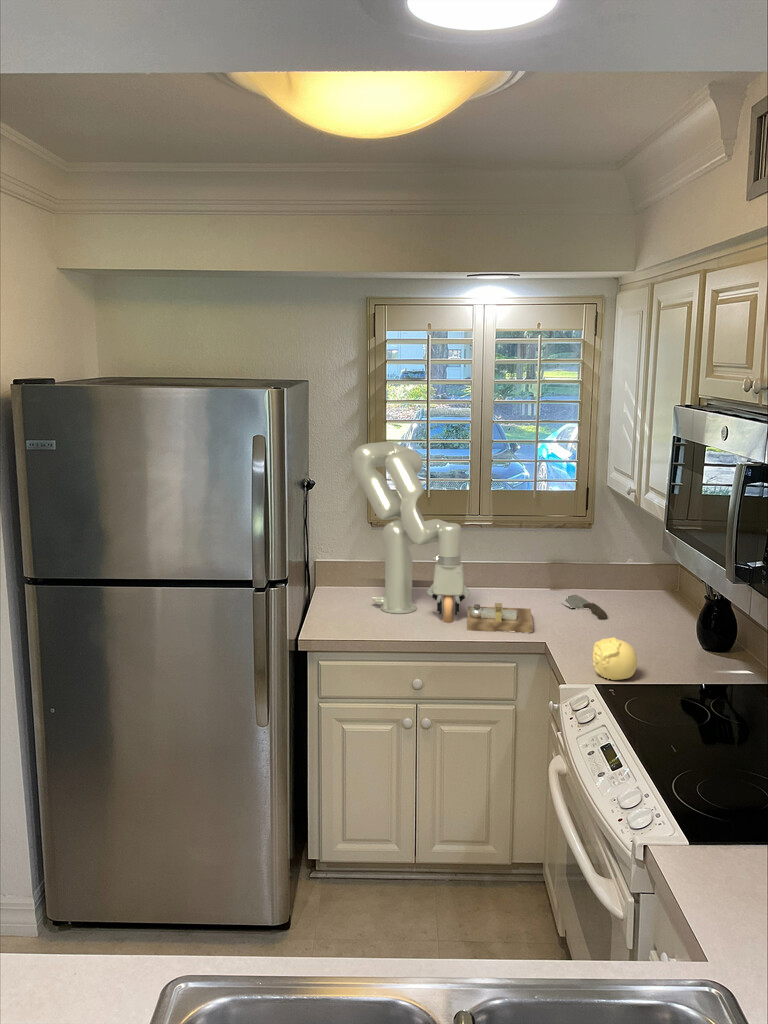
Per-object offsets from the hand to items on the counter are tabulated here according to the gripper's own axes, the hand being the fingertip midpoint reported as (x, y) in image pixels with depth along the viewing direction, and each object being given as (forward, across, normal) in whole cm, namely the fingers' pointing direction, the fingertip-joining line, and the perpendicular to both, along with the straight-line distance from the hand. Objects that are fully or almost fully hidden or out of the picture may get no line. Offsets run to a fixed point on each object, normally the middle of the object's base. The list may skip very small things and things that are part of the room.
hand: (448, 613), depth 279 cm
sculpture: (+3, +48, -43) cm, 65 cm away
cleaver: (+4, +46, +23) cm, 52 cm away
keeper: (0, +17, -4) cm, 17 cm away
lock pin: (+3, 0, 0) cm, 3 cm away
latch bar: (0, +15, -3) cm, 15 cm away
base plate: (+3, +17, 0) cm, 17 cm away
